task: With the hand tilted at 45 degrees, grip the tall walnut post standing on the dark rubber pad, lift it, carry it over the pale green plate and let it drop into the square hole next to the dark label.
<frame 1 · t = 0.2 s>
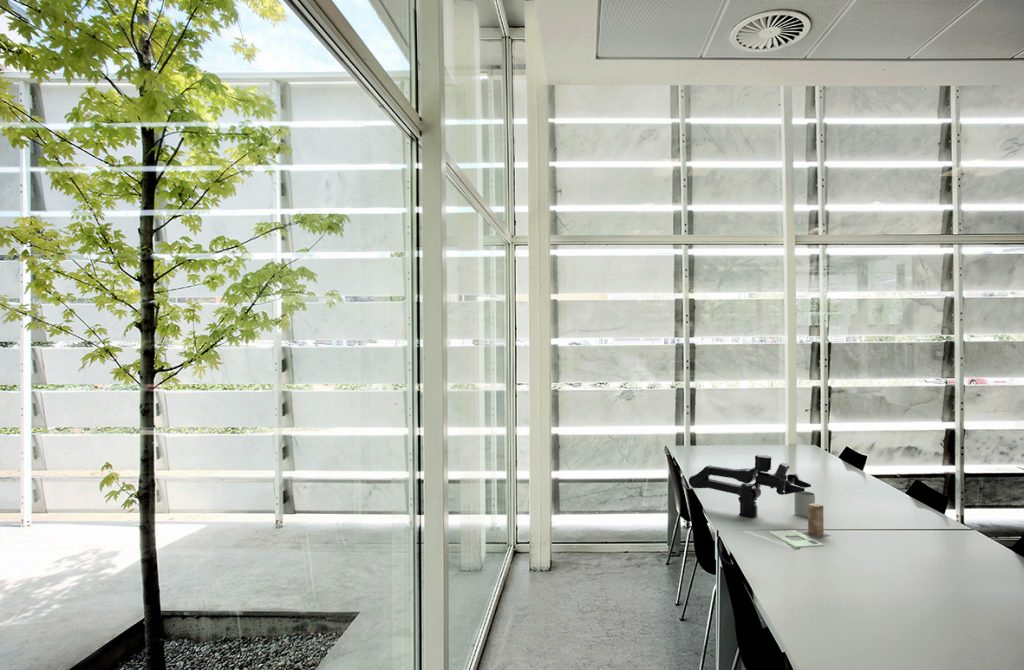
hand: (807, 487, 259), 17 cm above the table, fingers open, 9 cm apart
flange plate: (795, 540, 241), on the table
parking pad: (815, 535, 247), on the table
post: (815, 534, 247), point 1 cm above the table, touching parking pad
cup: (804, 515, 275), on the table
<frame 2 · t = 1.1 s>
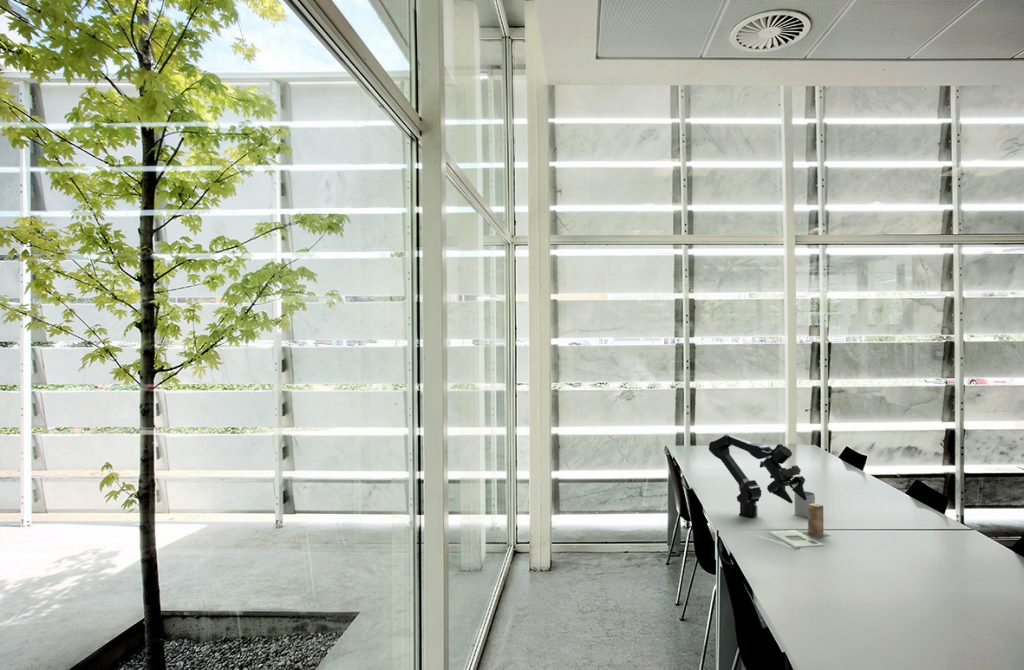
hand: (799, 501, 253), 12 cm above the table, fingers open, 9 cm apart
nothing on the table moved.
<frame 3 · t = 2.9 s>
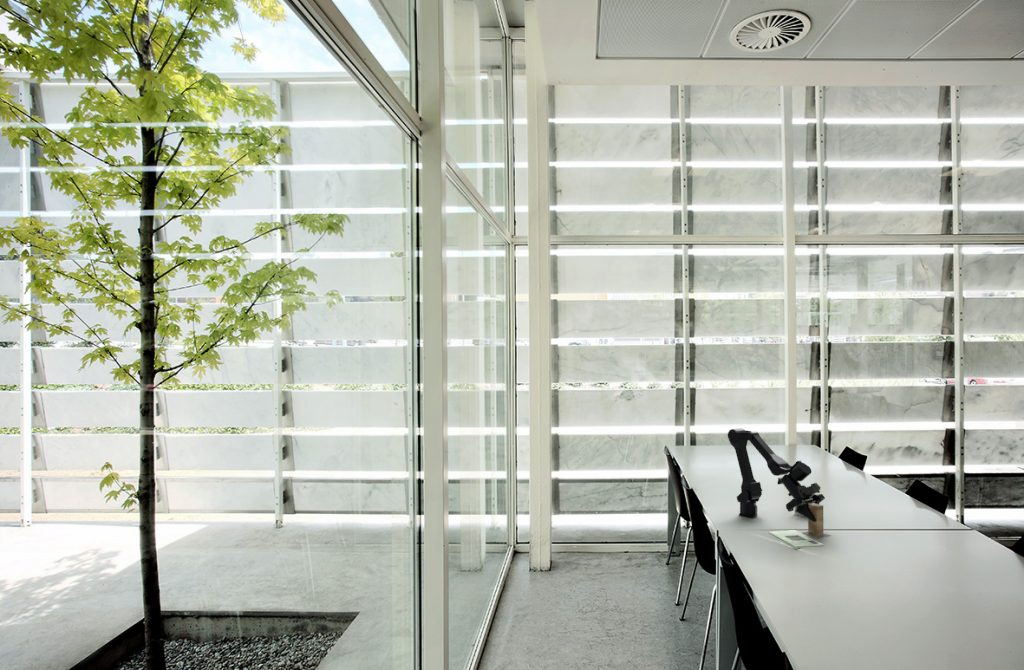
hand: (818, 520, 246), 7 cm above the table, fingers closed on post, 4 cm apart
post: (815, 534, 247), point 1 cm above the table, touching gripper, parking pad
everything else where it was.
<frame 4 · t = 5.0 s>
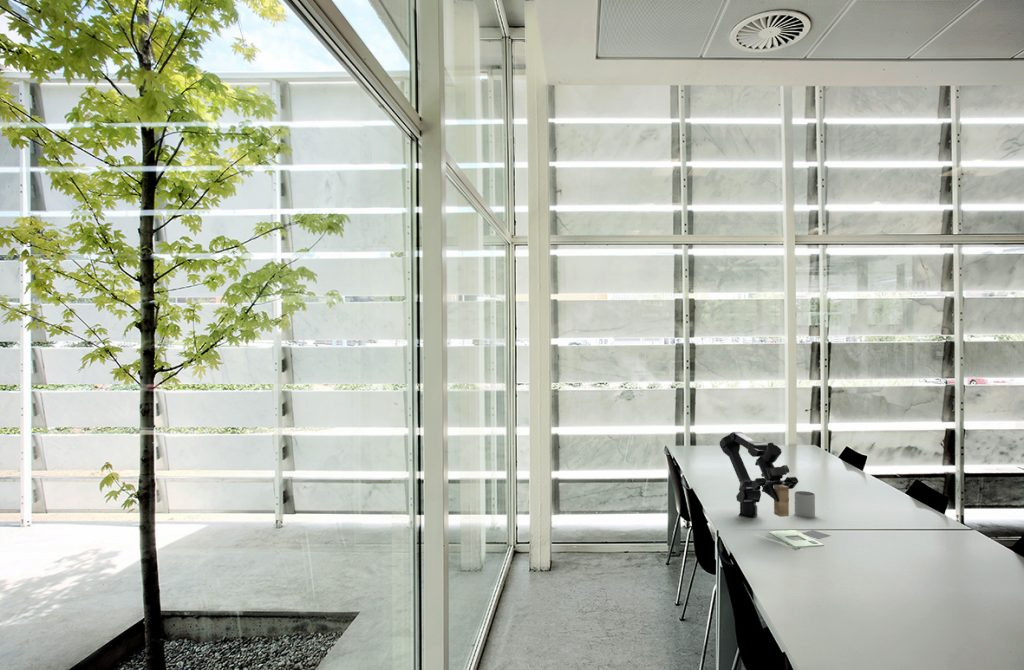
hand: (783, 501, 249), 13 cm above the table, fingers closed on post, 4 cm apart
post: (781, 515, 251), point 7 cm above the table, touching gripper
everything else where it was.
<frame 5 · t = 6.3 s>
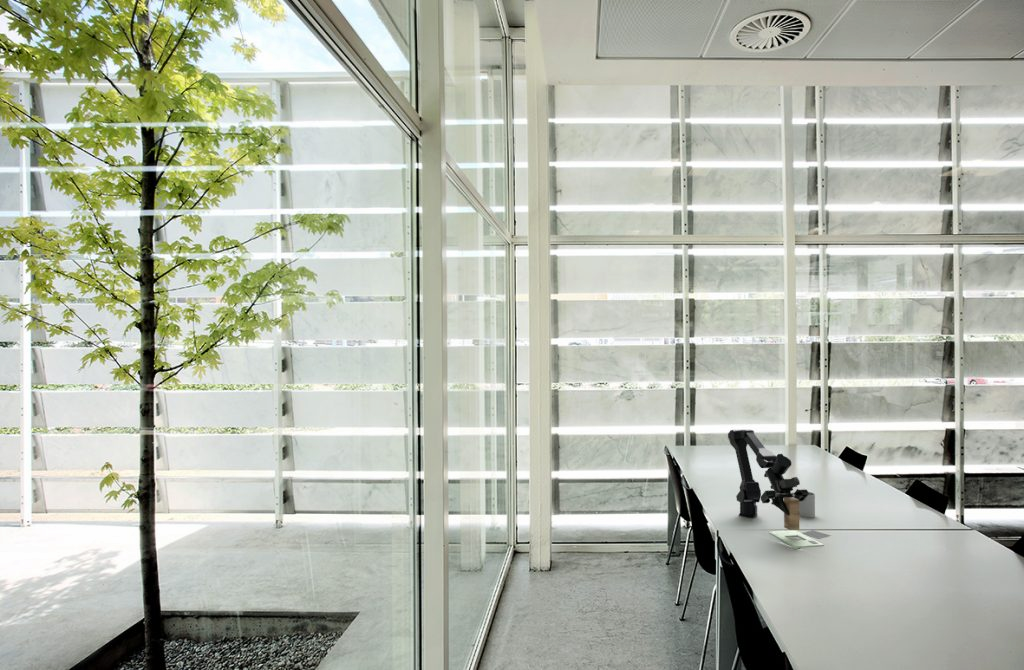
hand: (793, 514, 242), 10 cm above the table, fingers closed on post, 4 cm apart
post: (791, 528, 244), point 4 cm above the table, touching gripper
everything else where it was.
when the fingers open (8 cm above the table, at t = 7.2 s): post drops 2 cm, resting in flange plate.
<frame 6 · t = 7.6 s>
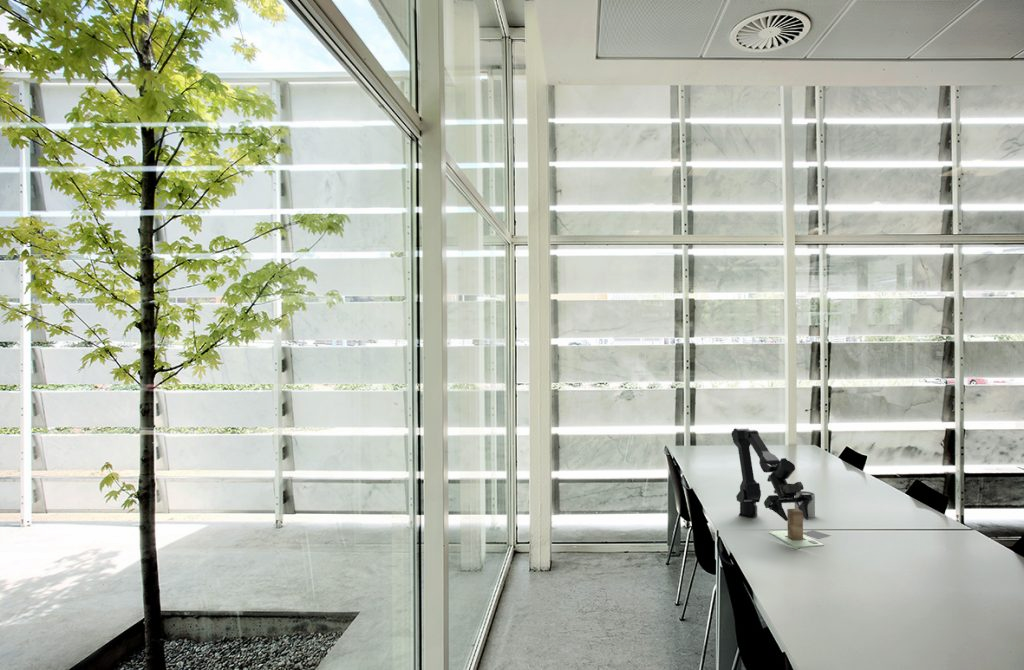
hand: (797, 519, 240), 9 cm above the table, fingers open, 9 cm apart
post: (795, 540, 241), resting in flange plate
everything else where it was.
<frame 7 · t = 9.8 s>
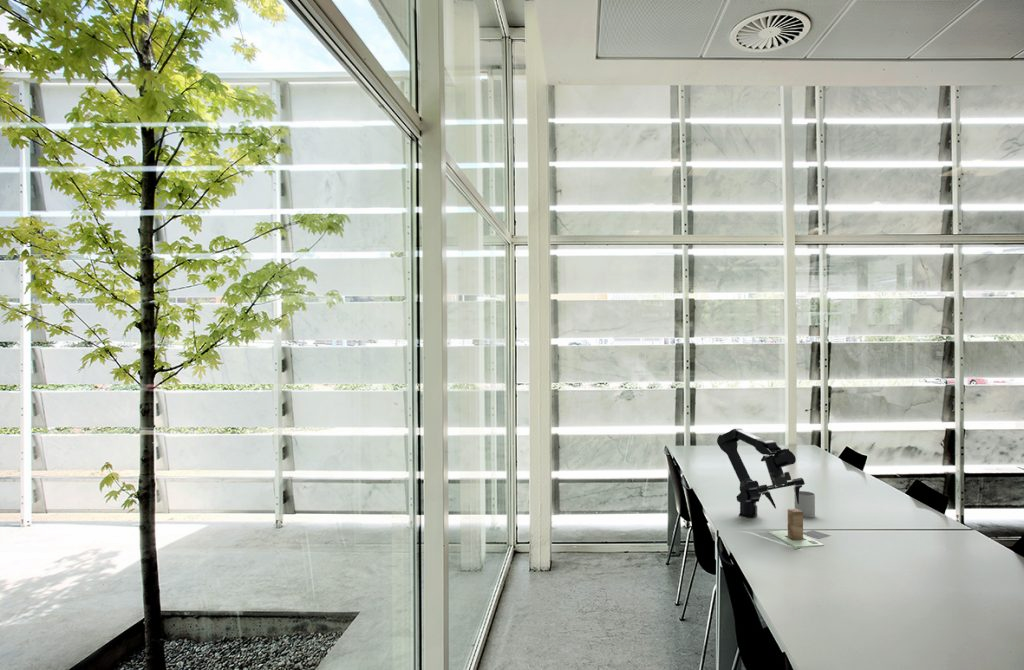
hand: (786, 506, 256), 10 cm above the table, fingers open, 9 cm apart
nothing on the table moved.
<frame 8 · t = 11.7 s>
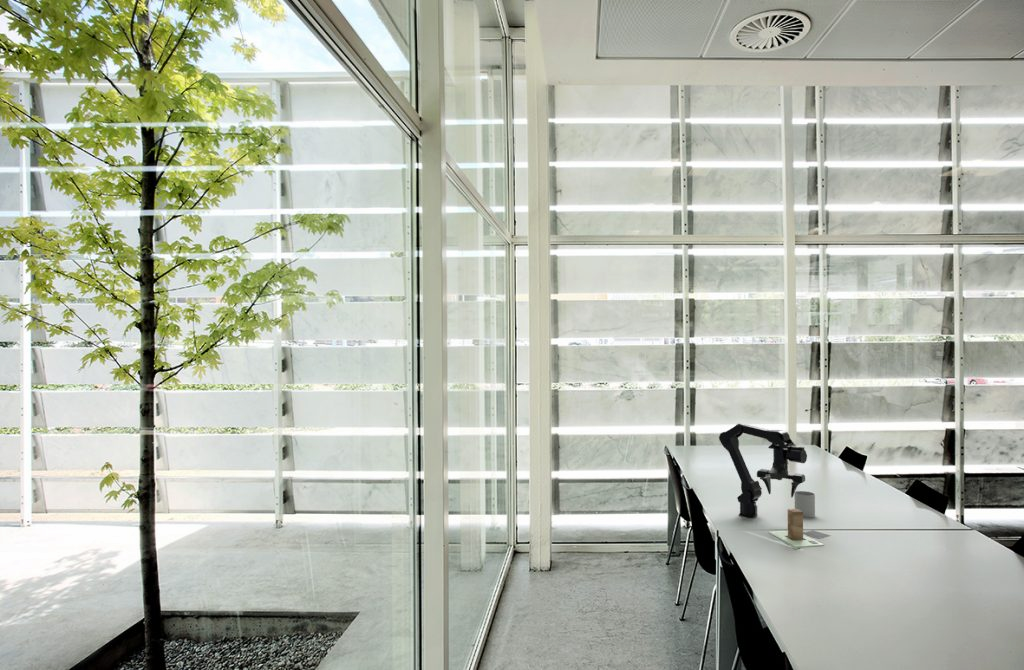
hand: (780, 495, 264), 12 cm above the table, fingers open, 9 cm apart
nothing on the table moved.
at the end: post 0.0 cm off-centre on the flange plate, point 0.0 cm above the flange plate's base; post tilted 0°; the gripper is holding nothing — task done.
